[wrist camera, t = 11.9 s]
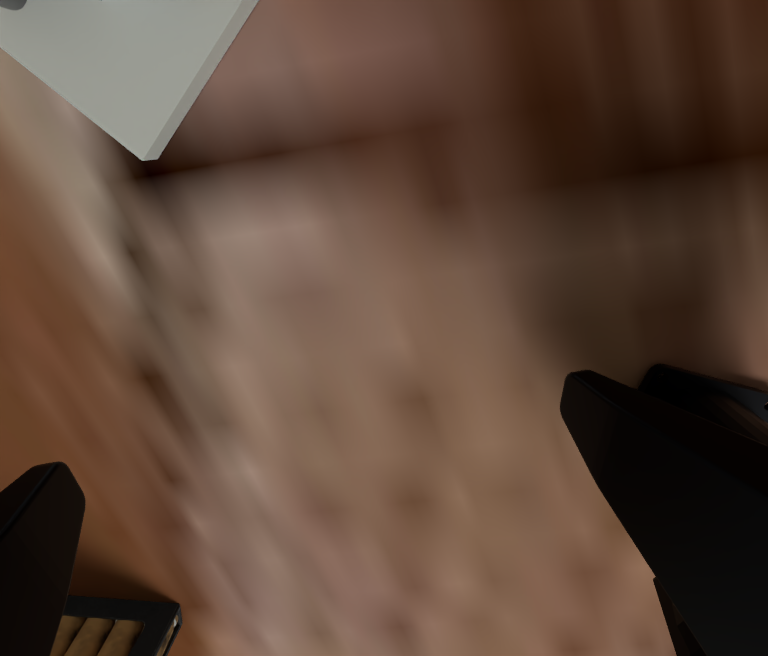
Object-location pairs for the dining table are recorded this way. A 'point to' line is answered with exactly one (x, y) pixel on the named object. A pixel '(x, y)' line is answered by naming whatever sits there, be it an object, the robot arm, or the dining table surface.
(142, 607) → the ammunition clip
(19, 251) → the dining table surface
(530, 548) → the dining table surface
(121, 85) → the base plate
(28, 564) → the robot arm
